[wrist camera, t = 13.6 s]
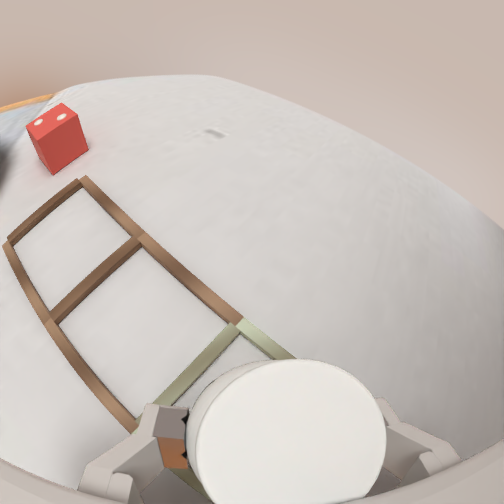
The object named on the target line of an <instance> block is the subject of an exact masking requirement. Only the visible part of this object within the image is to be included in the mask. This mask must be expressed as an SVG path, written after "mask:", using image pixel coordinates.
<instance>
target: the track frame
mask: <svg viewBox="0 0 504 504" xmlns="http://www.w3.org/2000/svg"><path fill="white" fill-rule="evenodd" d="M82 187H84V189H85V190H86V191H87V192H88V193H89V194H90V195H91V196H92V197H93V198H94V199H95V200H96V201H97V202H98V203H99V204H100V205H101V206H102V207H103V208H104V209H105V210H106V211H107V212H108V213H109V214H110V215H111V216H112V217H113V218H114V220H115V221H116V222H117V223H118V224H120V225H121V226H122V227H123V228H124V229H125V230H126V231H127V232H128V233H129V234H130V235H131V236H132V237H131V238H130V239H129V240H128V241H127V242H125V243H124V244H123V245H122V246H121V247H120V248H118V249H117V250H116V251H115V252H114V253H113V254H111V255H110V256H109V257H108V258H107V259H106V260H105V261H103V262H102V263H101V264H100V265H99V266H98V267H97V268H96V269H95V270H93V271H92V272H91V273H90V274H89V275H88V276H87V277H86V278H85V279H84V280H82V281H81V282H80V283H79V284H78V285H77V286H76V287H75V288H74V289H73V290H72V291H71V292H70V293H69V294H68V295H67V296H66V297H65V298H63V299H62V300H61V301H60V302H59V303H58V304H57V305H56V306H55V307H54V308H53V309H52V310H51V311H50V312H49V311H48V309H47V307H46V306H45V304H44V303H43V301H42V299H41V298H40V296H39V294H38V293H37V291H36V289H35V288H34V286H33V284H32V282H31V281H30V279H29V277H28V275H27V273H26V272H25V270H24V268H23V266H22V264H21V262H20V260H19V258H18V256H17V254H16V252H15V250H14V248H13V246H14V245H15V244H16V243H17V242H18V241H19V240H20V239H21V238H22V237H23V236H24V235H25V234H26V233H27V232H28V231H30V230H31V229H32V228H33V227H34V226H35V225H36V224H37V223H39V222H40V221H41V220H42V219H43V218H44V217H45V216H47V215H48V214H49V213H50V212H51V211H53V210H54V209H55V208H56V207H57V206H59V205H60V204H61V203H62V202H64V201H65V200H66V199H67V198H69V197H70V196H71V195H72V194H74V193H75V192H76V191H78V190H79V189H80V188H82ZM7 239H8V240H7V241H6V242H5V243H4V244H3V245H2V247H3V250H4V252H5V254H6V256H7V258H8V261H9V263H10V265H11V267H12V269H13V271H14V273H15V275H16V277H17V279H18V281H19V283H20V285H21V287H22V289H23V290H24V292H25V294H26V296H27V298H28V300H29V301H30V303H31V305H32V307H33V308H34V310H35V312H36V313H37V315H38V317H39V318H40V320H41V322H42V323H43V325H44V326H45V328H46V330H47V331H48V333H49V334H50V336H51V337H52V339H53V340H54V342H55V343H56V345H57V346H58V348H59V349H60V350H61V352H62V353H63V355H64V356H65V357H66V359H67V360H68V362H69V363H70V364H71V366H72V367H73V368H74V370H75V371H76V372H77V374H78V375H79V376H80V377H81V379H82V380H83V381H84V382H85V384H86V385H87V386H88V387H89V389H90V390H91V391H92V392H93V393H94V395H95V396H96V397H97V398H98V399H99V400H100V402H101V403H102V404H103V405H104V406H105V407H106V408H107V410H108V411H109V412H110V413H111V414H112V415H113V416H114V417H115V418H116V419H117V420H118V421H119V423H120V424H121V425H122V426H123V427H124V428H125V429H126V430H127V431H128V432H129V433H130V434H137V431H138V427H139V424H140V421H141V417H142V414H143V413H142V414H141V415H140V416H139V417H138V418H137V419H135V418H134V417H133V416H132V415H131V414H130V413H129V412H128V411H127V410H126V408H125V407H124V406H123V405H122V404H121V403H120V402H119V401H118V400H117V399H116V398H115V397H114V396H113V394H112V393H111V392H110V391H109V390H108V389H107V388H106V387H105V385H104V384H103V383H102V382H101V381H100V380H99V378H98V377H97V376H96V375H95V374H94V372H93V371H92V370H91V369H90V367H89V366H88V365H87V364H86V362H85V361H84V360H83V359H82V357H81V356H80V355H79V353H78V352H77V351H76V349H75V348H74V347H73V345H72V344H71V343H70V341H69V340H68V339H67V337H66V336H65V334H64V333H63V331H62V330H61V329H60V327H59V326H58V324H59V323H60V322H61V321H62V320H63V319H64V318H65V317H66V316H67V315H68V314H69V313H70V312H71V311H72V310H73V309H74V308H75V307H76V306H77V305H78V304H79V303H80V302H81V301H82V300H83V299H84V298H85V297H87V296H88V295H89V294H90V293H91V292H92V291H93V290H94V289H95V288H96V287H97V286H98V285H99V284H100V283H102V282H103V281H104V280H105V279H106V278H107V277H108V276H109V275H110V274H111V273H113V272H114V271H115V270H116V269H117V268H118V267H119V266H120V265H122V264H123V263H124V262H125V261H126V260H127V259H128V258H129V257H131V256H132V255H133V254H134V253H135V252H136V251H138V250H139V249H140V248H141V247H143V248H144V249H145V250H146V251H147V252H148V253H149V254H150V255H152V256H153V257H154V258H155V259H156V260H157V261H158V262H159V263H160V264H161V265H162V266H163V267H164V268H165V269H167V270H168V271H169V272H170V273H171V274H172V275H173V276H174V277H175V278H176V279H178V280H179V281H180V282H181V283H182V284H183V285H184V286H185V287H186V288H188V289H189V290H190V291H191V292H192V293H193V294H194V295H195V296H197V297H198V298H199V299H200V300H201V301H202V302H203V303H205V304H206V305H207V306H208V307H209V308H210V309H212V310H213V311H214V312H215V313H216V314H217V315H219V316H220V317H221V318H222V319H223V320H225V321H226V322H227V323H228V325H227V326H226V327H225V328H224V329H223V331H222V332H221V333H220V334H219V335H218V336H217V337H216V338H215V339H214V340H213V341H212V342H211V343H210V344H209V345H208V346H207V347H206V348H205V350H204V351H203V352H202V353H201V354H200V355H199V356H198V357H197V358H196V359H195V360H194V361H193V362H192V363H191V364H190V365H189V366H188V367H187V368H186V369H185V370H184V371H183V372H182V373H181V374H180V375H179V377H178V378H177V379H176V380H175V381H174V382H173V383H172V384H171V385H170V386H169V387H168V388H167V389H166V390H165V391H164V392H163V393H162V394H161V395H160V396H159V397H158V398H157V399H156V400H155V401H154V402H153V403H152V404H157V405H168V406H172V405H173V404H174V403H175V402H176V401H177V400H178V399H179V397H180V396H181V395H182V394H183V393H184V392H185V391H186V390H187V389H188V388H189V387H190V386H191V385H192V384H193V383H194V382H195V381H196V380H197V379H198V378H199V377H200V376H201V375H202V374H203V373H204V371H205V370H206V369H207V368H208V367H209V366H210V365H211V364H212V363H213V362H214V361H215V360H216V359H217V358H218V357H219V355H220V354H221V353H222V352H223V351H224V350H225V349H226V348H227V347H228V346H229V345H230V344H231V342H232V341H233V340H234V339H235V338H236V337H237V336H238V335H239V334H241V335H243V336H244V337H245V338H246V339H248V340H249V341H250V342H251V343H252V344H254V345H255V346H256V347H257V348H259V349H260V350H261V351H262V352H264V353H265V354H266V355H268V356H269V357H270V358H271V359H273V360H285V359H297V358H295V357H294V356H293V355H291V354H290V353H289V352H287V351H286V350H285V349H284V348H282V347H281V346H280V345H278V344H277V343H276V342H275V341H273V340H272V339H271V338H270V337H268V336H267V335H266V334H264V333H263V332H262V331H261V330H259V329H258V328H257V327H256V326H254V325H253V324H252V323H251V322H249V321H248V320H247V319H246V318H245V317H243V316H242V315H241V314H240V313H238V312H237V311H236V310H235V309H234V308H232V307H231V306H230V305H229V304H227V303H226V302H225V301H224V300H223V299H221V298H220V297H219V296H218V295H217V294H216V293H214V292H213V291H212V290H211V289H210V288H208V287H207V286H206V285H205V284H204V283H203V282H201V281H200V280H199V279H198V278H197V277H196V276H194V275H193V274H192V273H191V272H190V271H189V270H187V269H186V268H185V267H184V266H183V265H182V264H181V263H179V262H178V261H177V260H176V259H175V258H174V257H173V256H172V255H170V254H169V253H168V252H167V251H166V250H165V249H164V248H163V247H162V246H160V245H159V244H158V243H157V242H156V241H155V240H154V239H153V238H152V237H150V236H149V235H148V234H147V233H146V232H145V231H144V230H143V229H142V228H141V227H140V226H139V225H137V224H136V223H135V222H134V221H133V220H132V219H131V218H130V217H129V216H128V215H127V214H126V213H125V212H124V211H123V210H121V209H120V208H119V207H118V206H117V205H116V204H115V203H114V202H113V201H112V200H111V199H110V198H109V197H108V196H107V195H106V194H105V193H104V192H103V191H102V190H101V189H100V188H99V187H98V186H97V185H96V184H95V183H94V182H93V181H92V180H91V179H90V178H89V177H88V176H87V175H85V176H84V177H82V178H81V179H79V180H78V179H77V178H76V179H75V180H74V181H72V182H71V183H70V184H68V185H67V186H66V187H65V188H63V189H62V190H61V191H59V192H58V193H57V194H56V195H54V196H53V197H52V198H51V199H49V200H48V201H47V202H46V203H45V204H43V205H42V206H41V207H40V208H39V209H37V210H36V211H35V212H34V213H33V214H32V215H30V216H29V217H28V218H27V219H26V220H25V221H24V222H23V223H22V224H20V225H19V226H18V227H17V228H16V229H15V230H14V231H13V232H12V233H11V234H10V235H9V236H8V237H7ZM168 469H170V470H171V471H172V472H173V473H174V474H176V475H177V476H178V477H179V478H181V479H182V480H183V481H184V482H186V483H187V484H188V485H190V486H191V487H192V488H194V489H195V490H196V491H198V492H199V493H200V494H202V495H203V496H204V497H206V498H207V499H209V500H210V501H212V500H211V499H210V497H209V496H208V494H207V493H206V491H205V490H204V487H203V485H202V484H201V482H200V481H199V480H198V478H197V477H196V475H195V473H194V471H193V470H192V469H191V468H190V467H189V466H188V469H178V468H168ZM212 502H213V501H212ZM213 503H214V502H213ZM214 504H215V503H214Z"/></svg>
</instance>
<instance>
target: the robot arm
mask: <svg viewBox="0 0 504 504" xmlns="http://www.w3.org/2000/svg"><path fill="white" fill-rule="evenodd" d="M375 400H376V402H377V404H378V406H379V408H380V410H381V413H382V415H383V419H384V423H385V427H386V451H385V457H384V461H383V465H382V466H383V467H384V468H385V469H387V470H388V471H389V472H391V473H392V474H394V475H395V476H396V477H398V478H399V479H401V480H402V481H401V482H400V484H399V485H398V486H397V488H396V489H394V490H391V491H388V492H384V493H381V494H378V495H374V496H370V497H367V498H363V499H359V500H355V501H350V502H346V503H341V504H504V439H502V440H501V441H499V442H497V443H496V444H494V445H492V446H491V447H489V448H487V449H485V450H484V451H482V452H480V453H478V454H476V455H475V456H473V457H471V458H469V459H467V460H465V461H462V460H461V459H460V457H459V456H458V455H457V453H456V452H455V450H454V449H453V448H452V446H451V445H450V444H449V443H448V442H446V441H444V440H442V439H439V438H437V437H435V436H433V435H431V434H428V433H426V432H424V431H422V430H420V429H418V428H416V427H414V426H412V425H409V424H407V423H405V422H402V423H401V422H400V420H399V419H398V417H397V416H396V414H395V413H394V411H393V410H392V408H391V407H390V405H389V404H388V402H387V401H386V399H385V398H383V397H381V398H376V399H375ZM189 415H190V414H189V408H186V407H176V406H168V405H157V404H151V403H147V404H146V405H145V408H144V411H143V414H142V417H141V421H140V424H139V427H138V431H137V434H131V435H130V436H129V437H127V438H126V439H124V440H123V441H121V442H120V443H118V444H117V445H115V446H114V447H113V448H111V449H110V450H108V451H107V452H105V453H104V454H102V455H100V456H99V457H97V458H96V459H94V460H93V461H91V462H90V463H88V464H87V466H86V468H85V471H84V473H83V476H82V479H81V481H80V484H79V487H78V490H74V489H71V488H68V487H65V486H62V485H59V484H57V483H54V482H51V481H49V480H46V479H44V478H41V477H39V476H37V475H34V474H32V473H30V472H27V471H25V470H23V469H21V468H19V467H17V466H15V465H13V464H11V463H9V462H7V461H5V460H3V459H1V458H0V504H144V502H143V500H142V498H141V496H140V492H141V491H143V490H144V489H145V488H146V487H147V486H148V485H149V484H150V483H151V482H152V481H153V480H154V479H155V478H156V477H157V475H158V474H159V473H160V472H161V471H162V470H163V469H164V467H166V468H178V469H188V464H189V459H188V456H187V450H186V424H187V421H188V418H189Z"/></svg>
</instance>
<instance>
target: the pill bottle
mask: <svg viewBox="0 0 504 504" xmlns="http://www.w3.org/2000/svg"><path fill="white" fill-rule="evenodd" d="M186 450H187V456H188V459H189V462H190V465H191V467H192V469H193V471H194V473H195V475H196V477H197V478H198V480H199V481H200V482H201V484H202V485H203V487H204V490H205V491H206V493H207V494H208V496H209V497H210V499H211V500H212V501H213V502H214V503H215V504H341V503H346V502H350V501H355V500H359V499H363V498H364V497H365V496H366V494H367V493H368V492H369V491H370V489H371V487H372V486H373V484H374V483H375V481H376V479H377V477H378V475H379V473H380V470H381V468H382V465H383V461H384V457H385V451H386V427H385V423H384V419H383V415H382V413H381V410H380V408H379V406H378V404H377V402H376V400H375V399H374V397H373V396H372V394H371V393H370V392H369V390H368V389H367V388H366V387H365V386H364V385H363V384H362V383H361V382H360V381H359V380H358V379H357V378H355V377H354V376H353V375H351V374H350V373H348V372H346V371H345V370H343V369H341V368H338V367H336V366H334V365H331V364H328V363H325V362H321V361H316V360H309V359H285V360H265V361H257V362H252V363H248V364H245V365H242V366H239V367H237V368H234V369H232V370H230V371H228V372H226V373H224V374H222V375H221V376H219V377H218V378H217V379H215V380H214V381H213V382H211V383H210V384H209V385H208V386H207V387H206V388H205V389H204V390H203V392H202V393H201V394H200V396H199V397H198V399H197V400H196V402H195V404H194V406H193V408H192V411H191V413H190V415H189V418H188V421H187V424H186Z"/></svg>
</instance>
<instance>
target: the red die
mask: <svg viewBox="0 0 504 504" xmlns="http://www.w3.org/2000/svg"><path fill="white" fill-rule="evenodd" d="M26 129H27V131H28V133H29V136H30V138H31V140H32V143H33V145H34V147H35V149H36V152H37V154H38V156H39V158H40V159H41V161H42V162H43V163H44V165H45V166H46V167H47V168H48V170H49V171H50V172H51V173H52V175H54V174H55V173H57V172H58V171H59V170H61V169H62V168H63V167H65V166H66V165H68V164H69V163H70V162H72V161H73V160H75V159H76V158H77V157H79V156H80V155H82V154H83V153H85V152H86V151H88V150H89V149H88V146H87V143H86V140H85V137H84V134H83V131H82V128H81V124H80V121H79V118H78V114H76V113H75V112H74V111H72V110H71V109H70V108H68V107H67V106H65V105H64V104H63V103H60V104H59V105H57V106H55V107H54V108H52V109H50V110H49V111H47V112H46V113H44V114H43V115H41V116H40V117H38V118H37V119H35V120H34V121H32V122H31V123H29V124H28V125H26Z"/></svg>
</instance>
